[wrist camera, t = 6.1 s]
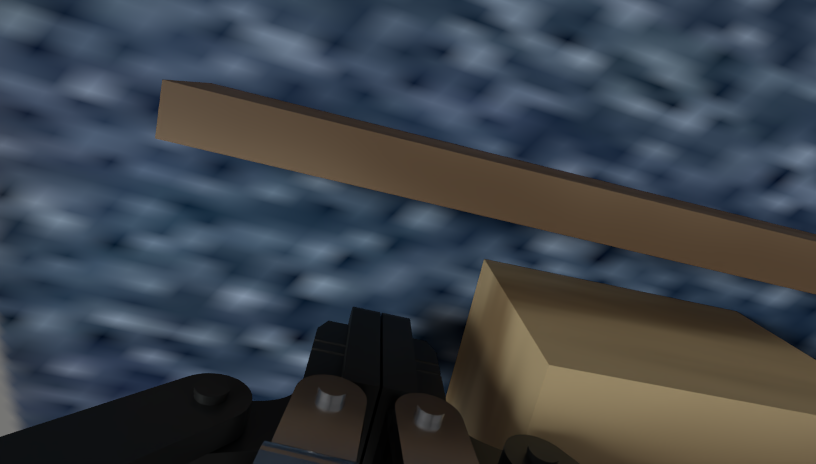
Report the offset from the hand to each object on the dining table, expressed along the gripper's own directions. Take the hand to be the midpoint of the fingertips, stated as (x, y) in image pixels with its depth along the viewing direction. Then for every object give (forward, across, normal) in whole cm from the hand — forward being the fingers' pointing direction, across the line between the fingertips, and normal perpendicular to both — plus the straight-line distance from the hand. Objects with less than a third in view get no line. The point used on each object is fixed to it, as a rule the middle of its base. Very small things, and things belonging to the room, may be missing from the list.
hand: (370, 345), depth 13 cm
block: (+2, -7, 0) cm, 7 cm away
